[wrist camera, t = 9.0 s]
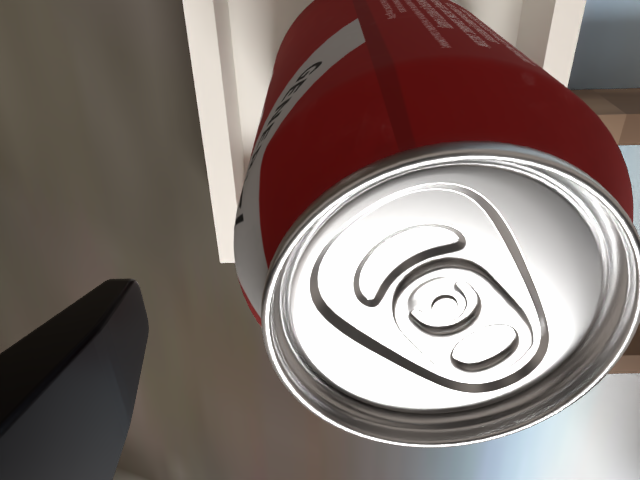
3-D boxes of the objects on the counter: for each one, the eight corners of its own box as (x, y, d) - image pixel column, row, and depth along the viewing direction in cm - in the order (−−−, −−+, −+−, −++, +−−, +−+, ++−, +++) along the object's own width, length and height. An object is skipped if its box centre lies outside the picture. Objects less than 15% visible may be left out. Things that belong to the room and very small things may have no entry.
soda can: (395, -84, 16) (540, -43, 5) (519, 92, 18) (771, 340, 8) (230, 75, 18) (117, 312, 8) (362, 210, 21) (404, 517, 10)
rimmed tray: (505, 213, 21) (530, 256, 19) (231, 219, 21) (220, 263, 19) (563, -111, 16) (610, -112, 13) (192, -101, 16) (168, -100, 13)
